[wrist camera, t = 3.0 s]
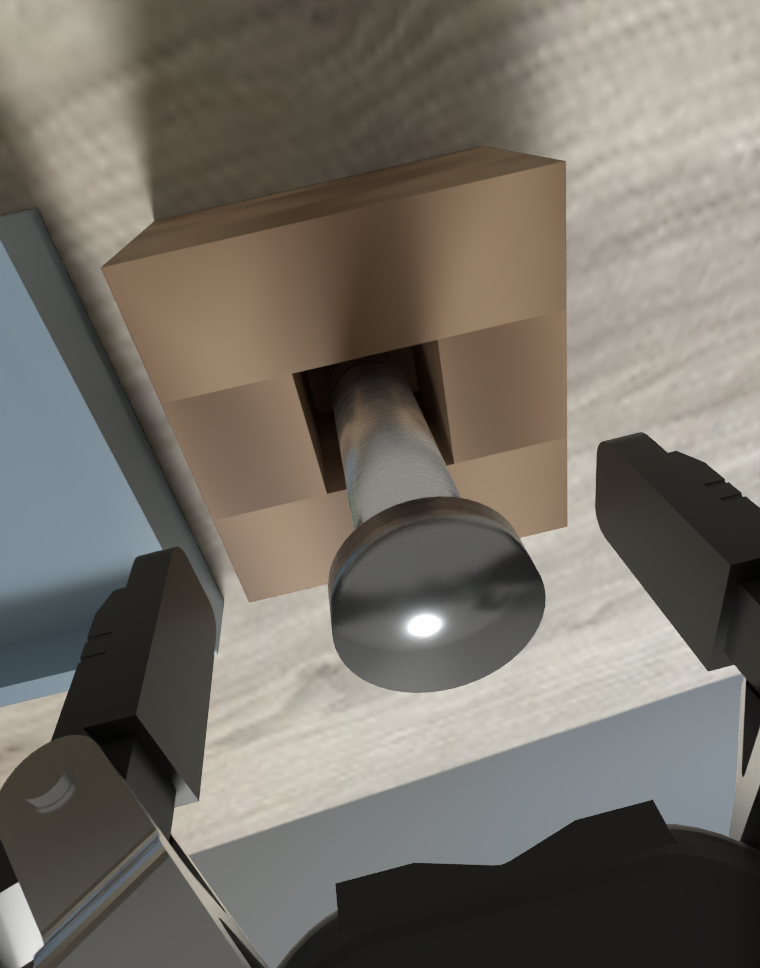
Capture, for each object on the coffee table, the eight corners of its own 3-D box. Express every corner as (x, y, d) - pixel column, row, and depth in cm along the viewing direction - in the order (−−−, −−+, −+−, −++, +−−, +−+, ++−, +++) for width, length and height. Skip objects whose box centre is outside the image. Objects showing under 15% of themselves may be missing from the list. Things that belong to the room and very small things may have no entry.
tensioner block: (483, 146, 17) (565, 160, 12) (504, 435, 23) (567, 526, 18) (154, 221, 17) (100, 267, 12) (256, 493, 23) (249, 602, 18)
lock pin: (399, 291, 18) (543, 511, 8) (415, 388, 20) (548, 665, 10) (293, 315, 18) (307, 567, 8) (320, 411, 20) (357, 711, 10)
